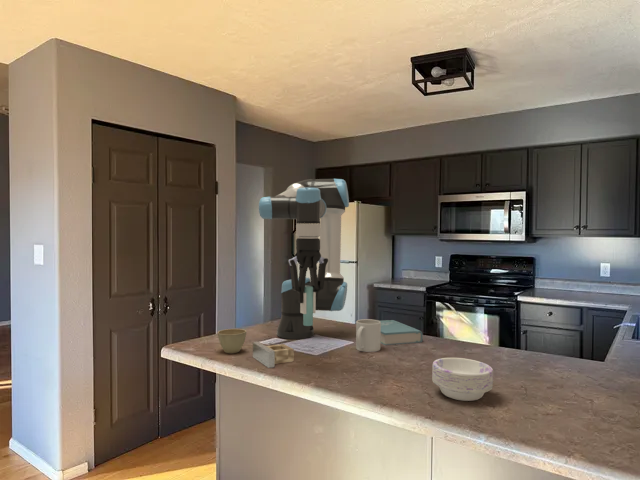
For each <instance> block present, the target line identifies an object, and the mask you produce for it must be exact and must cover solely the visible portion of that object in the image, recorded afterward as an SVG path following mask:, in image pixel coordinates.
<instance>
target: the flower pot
mask: <svg viewBox="0 0 640 480" xmlns="http://www.w3.org/2000/svg"><path fill="white" fill-rule="evenodd" d="M246 336H247V330H246V329H243V328H227V329H220V330H218V331H217V338H218V341H219V343H220V346H221V348H222V350H223V351H224V353H226V354H236V353H240V351H241V350H242V348H243V346H244V343H245V340H246V338H247V337H246Z"/></svg>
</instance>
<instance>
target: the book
mask: <svg viewBox="0 0 640 480" xmlns="http://www.w3.org/2000/svg"><path fill="white" fill-rule="evenodd" d="M379 321H380V322H381V344H382V345H383V346H392V345H403V344H416V343H417V344H418V343H422V342H423V336H424V335H423V332H422V331H421V330H419V329H417V328H415V327H412V326H409V325H407V324H405V323H402V322H399V321H397V320H394V319H391V320H389V319H387V320H386V319H385V320H383V319H382V320H379Z"/></svg>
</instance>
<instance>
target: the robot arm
mask: <svg viewBox="0 0 640 480" xmlns="http://www.w3.org/2000/svg"><path fill="white" fill-rule="evenodd" d="M349 199H350V197H349V191H348V185H347V182H346V180H344V179H342V178H319V179H318V178H317V179H316V178H310V179H308V178H307V179H304V180H300V181H297V182H294V183H292V184H290V185H289V186H288V187H287V188H286V190H284V191H283V192H281V193H279V194H277V195H275V196H264V197H261V198H260V199H259V202H258V213H259V217H261V219H265V220H296V221H295V224H296V225H295V228H296V229H295V230H296V231H295V236H296V237H297V238H296V239H295V251H296V253H295V255H294V257H292V258H289V259H287V264H288V266H289V272H290V279H287V280H284V281H283V282H282V284H281V290H280V293H281V298H280V299H281V303H280V304H281V309H280V311H281V314H280V315H281V317H280V320H279V323H278V326H277V329H276V336H277V337H279V338H282V339H287V340H289V339H290V340H302V339H309V338H313V337H314V336H315V330H314V329H315V328H314V324H313V325H312V326H304V325H303V314H306V293H304V288H305V286H313V314H316V311H320V312H321V311H324V312H325V311H327V312H336V311H337V312H339V311H343V309H344V308H345V305H346V304H345V303H346V300H347V293H348V283H347V282H346V281H344V276H343V275H342V274H341V250H342V249H341V247H342V246H341V245H342V243H341V240H342V216H343V214H344V213H346V208H349V206H350V200H349ZM318 263H319V264H318ZM317 264H318V266H317ZM297 265H299V266H298V267H299V268H298V267H297ZM308 270H309V276H310V277H307V272H308ZM298 272H299V273H298Z"/></svg>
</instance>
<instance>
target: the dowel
mask: <svg viewBox="0 0 640 480" xmlns="http://www.w3.org/2000/svg"><path fill="white" fill-rule="evenodd" d="M304 293H306V314H303V325H304V326H312V325H313V326H314V313H313V286H305V288H304Z"/></svg>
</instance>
